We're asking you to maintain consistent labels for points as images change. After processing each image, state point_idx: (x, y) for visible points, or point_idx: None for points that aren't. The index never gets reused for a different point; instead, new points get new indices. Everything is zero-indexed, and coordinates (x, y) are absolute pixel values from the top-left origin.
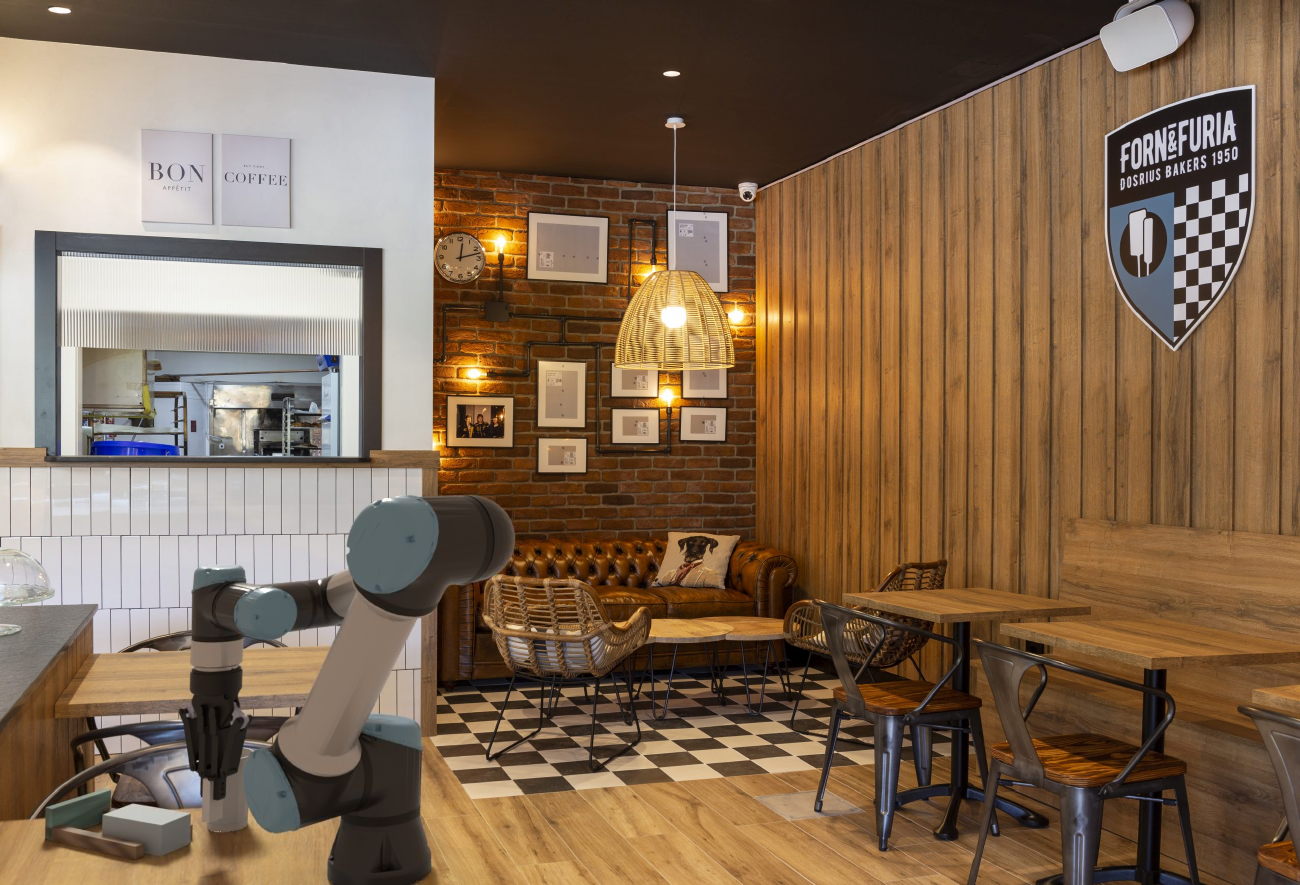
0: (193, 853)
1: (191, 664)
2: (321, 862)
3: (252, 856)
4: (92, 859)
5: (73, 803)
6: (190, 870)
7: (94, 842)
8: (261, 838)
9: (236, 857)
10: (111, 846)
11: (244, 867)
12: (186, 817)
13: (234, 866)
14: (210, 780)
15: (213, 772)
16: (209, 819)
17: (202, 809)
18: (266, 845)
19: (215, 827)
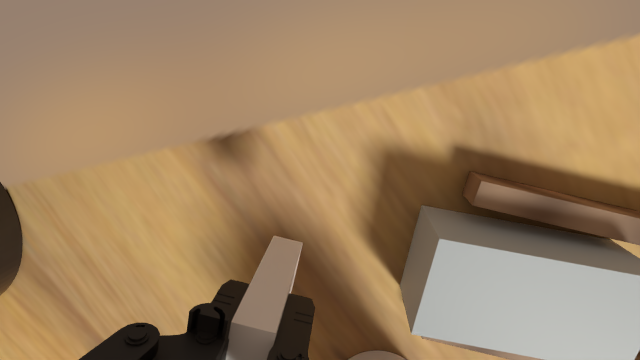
0: (356, 235)
1: None
2: (62, 242)
3: (218, 244)
4: (584, 152)
5: None
6: (300, 142)
7: (627, 213)
8: None
9: (248, 232)
10: (564, 198)
11: (194, 184)
12: (414, 316)
13: (219, 185)
14: (210, 306)
15: (201, 350)
16: (271, 241)
17: (295, 260)
18: None
19: (383, 358)
